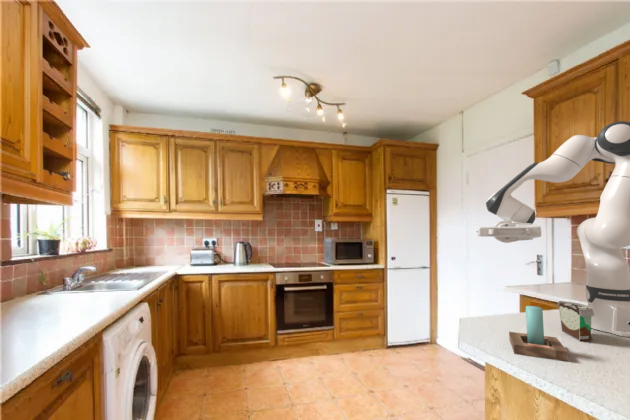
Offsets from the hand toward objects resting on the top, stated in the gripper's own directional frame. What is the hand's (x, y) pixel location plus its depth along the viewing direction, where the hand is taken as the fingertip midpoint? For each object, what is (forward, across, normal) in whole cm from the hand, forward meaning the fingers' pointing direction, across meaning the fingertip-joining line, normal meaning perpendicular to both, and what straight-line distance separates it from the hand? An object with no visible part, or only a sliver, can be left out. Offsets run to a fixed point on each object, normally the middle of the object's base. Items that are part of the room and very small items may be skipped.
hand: (509, 231), depth 109 cm
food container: (0, +18, +34) cm, 39 cm away
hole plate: (+19, +3, +34) cm, 39 cm away
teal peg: (+19, +3, +34) cm, 39 cm away
